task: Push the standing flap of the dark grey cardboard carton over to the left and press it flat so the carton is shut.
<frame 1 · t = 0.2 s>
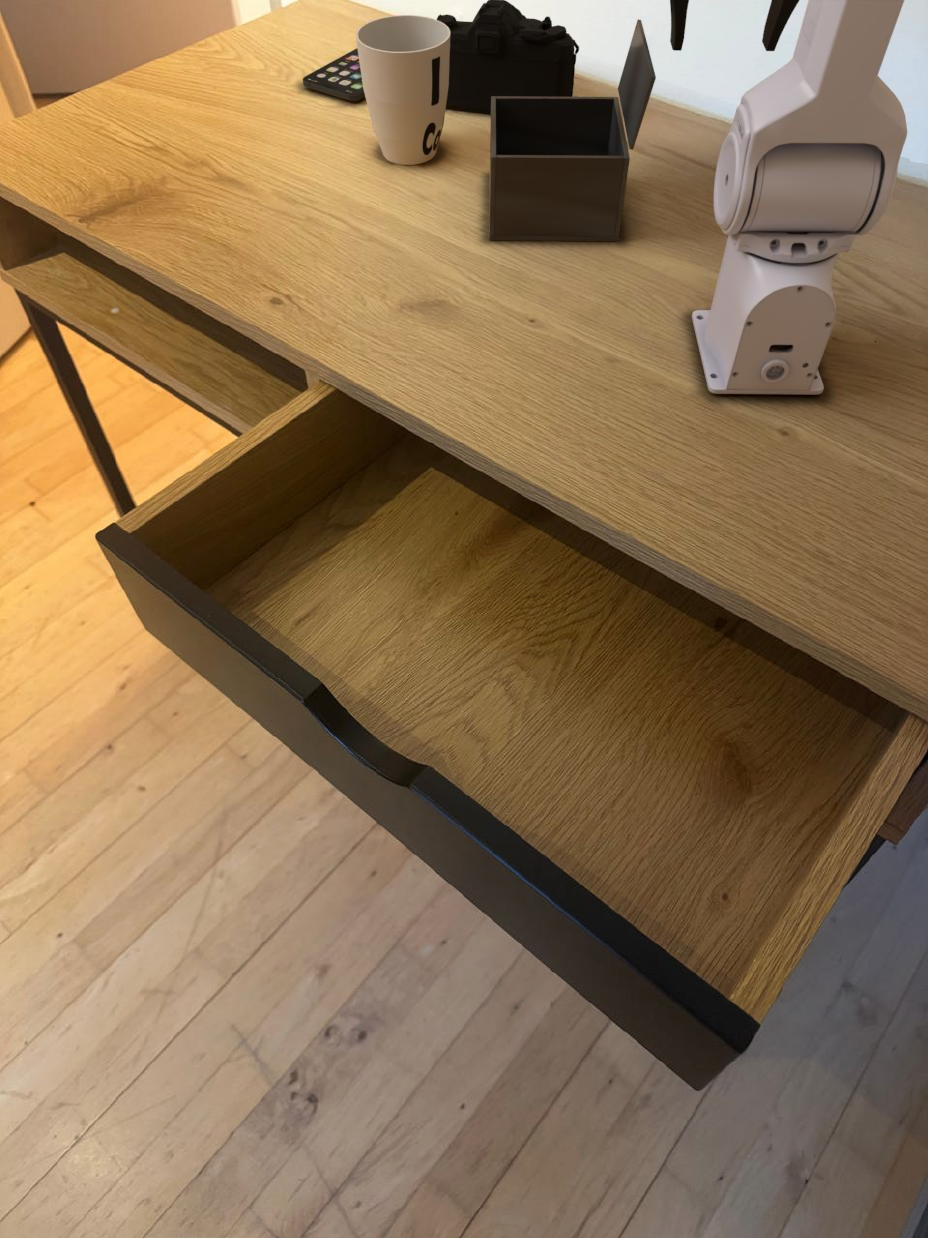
hand: (721, 45, 75), 10 cm above the table, tool pointing down, fingers open, 7 cm apart
flap: (635, 83, 71), point 10 cm above the table, hinge at 100.0°
carton: (551, 207, 79), on the table
film camera: (503, 98, 93), on the table
smartphone: (371, 71, 96), on the table
cup: (409, 153, 85), on the table
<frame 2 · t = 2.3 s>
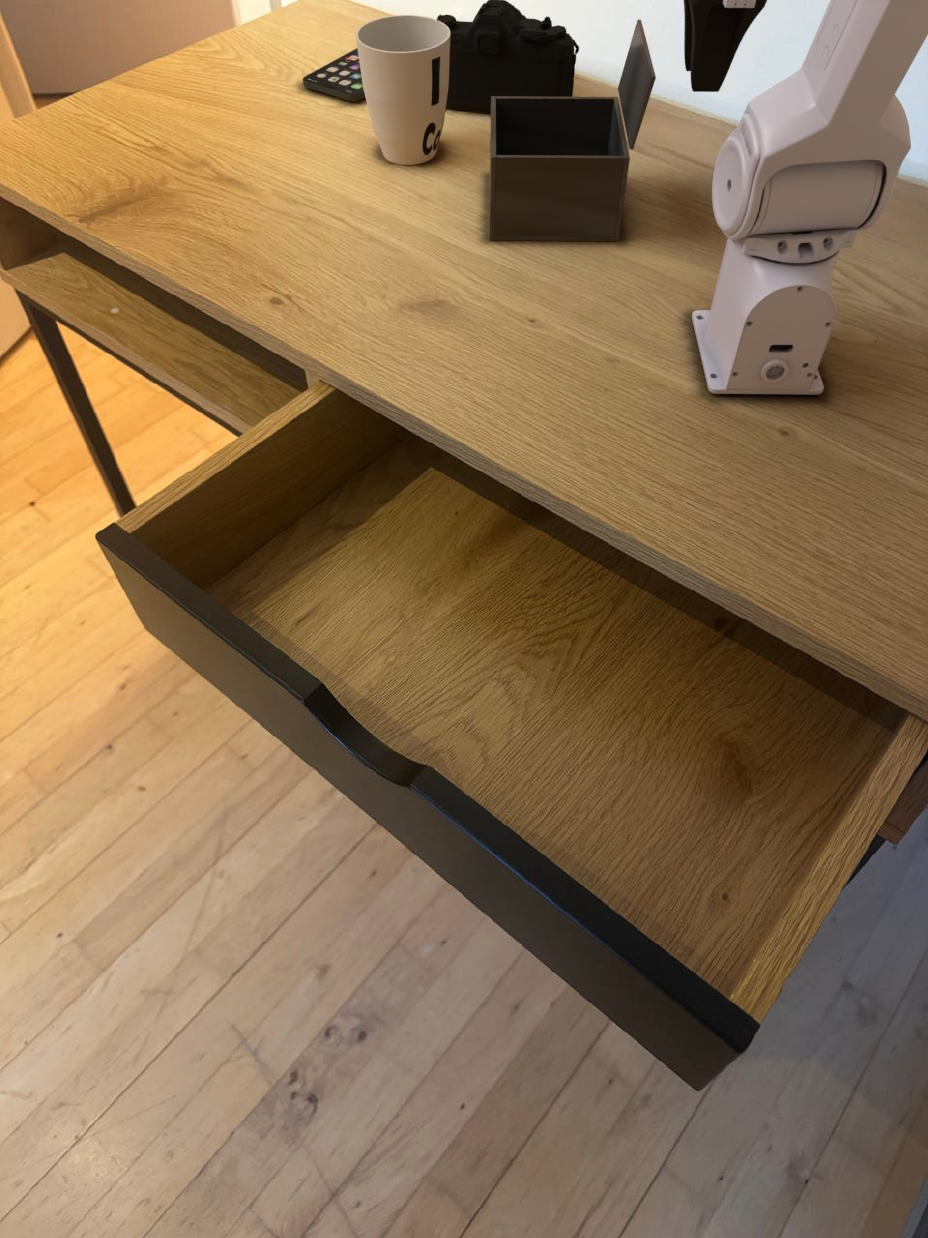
hand: (701, 79, 71), 10 cm above the table, tool pointing down, fingers open, 3 cm apart
nothing on the table moved.
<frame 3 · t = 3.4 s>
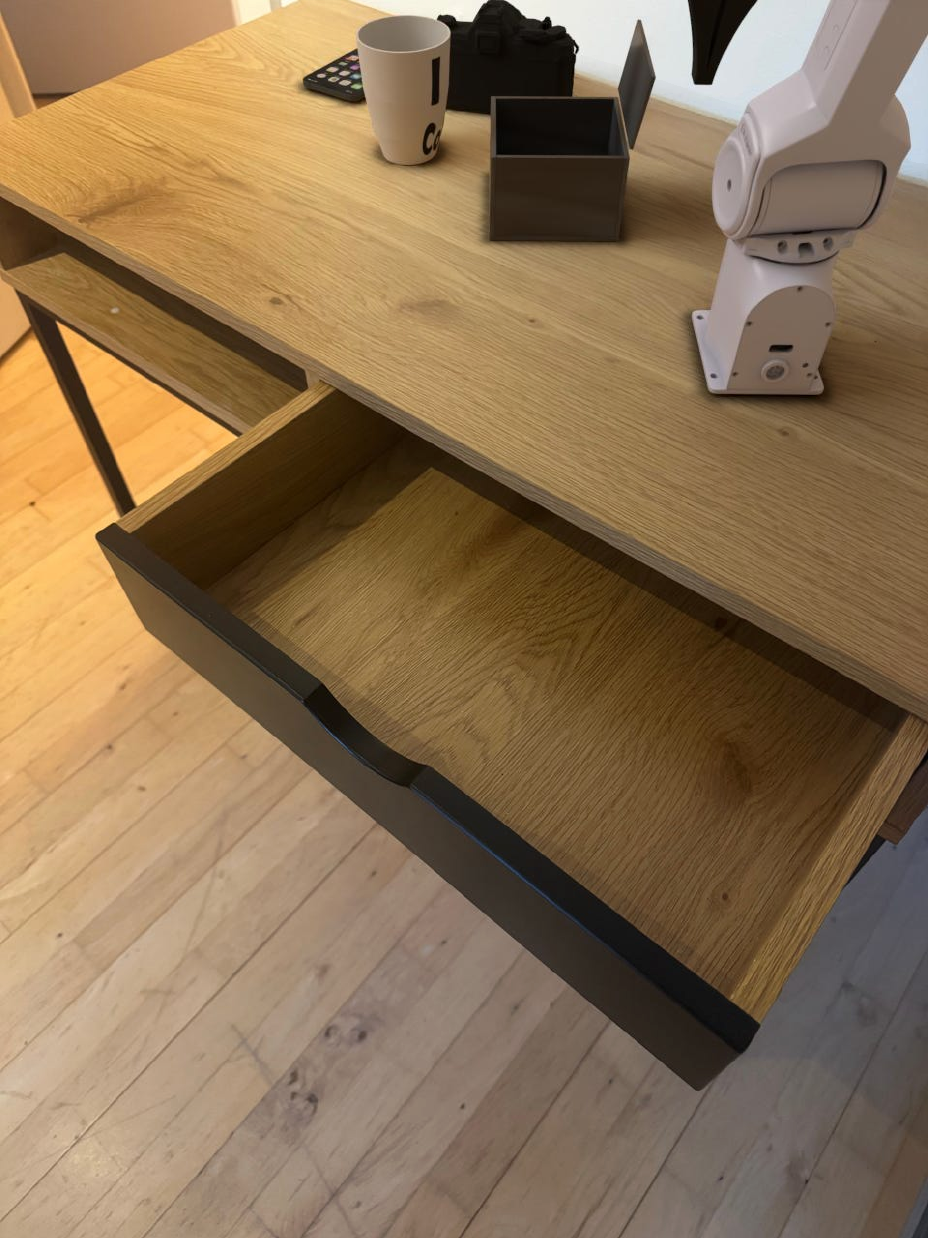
hand: (701, 79, 71), 10 cm above the table, tool pointing down, fingers closed
nothing on the table moved.
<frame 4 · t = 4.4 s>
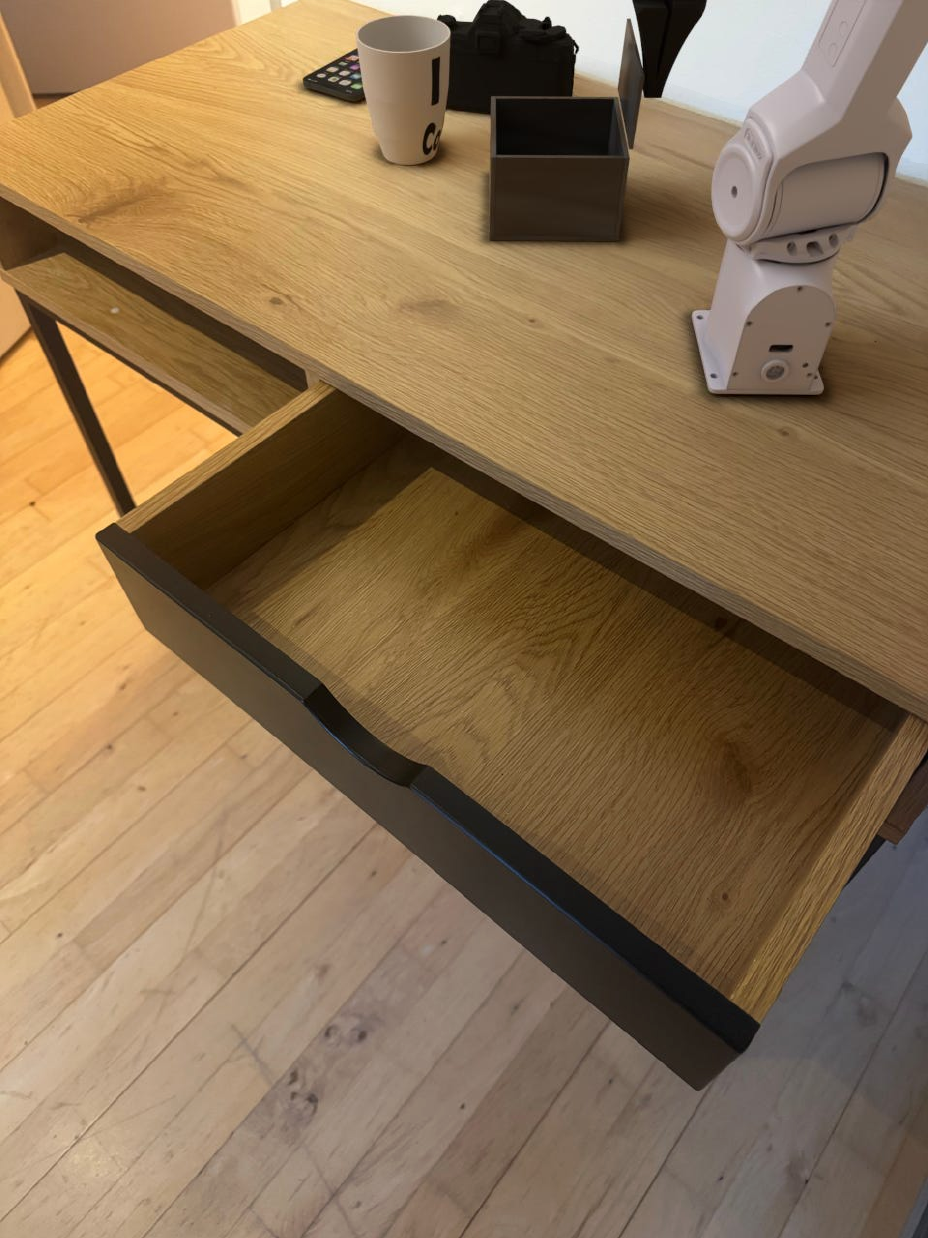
hand: (651, 92, 71), 9 cm above the table, tool pointing down, fingers closed
flap: (630, 82, 71), point 10 cm above the table, hinge at 90.7°, touching gripper
everything else where it was.
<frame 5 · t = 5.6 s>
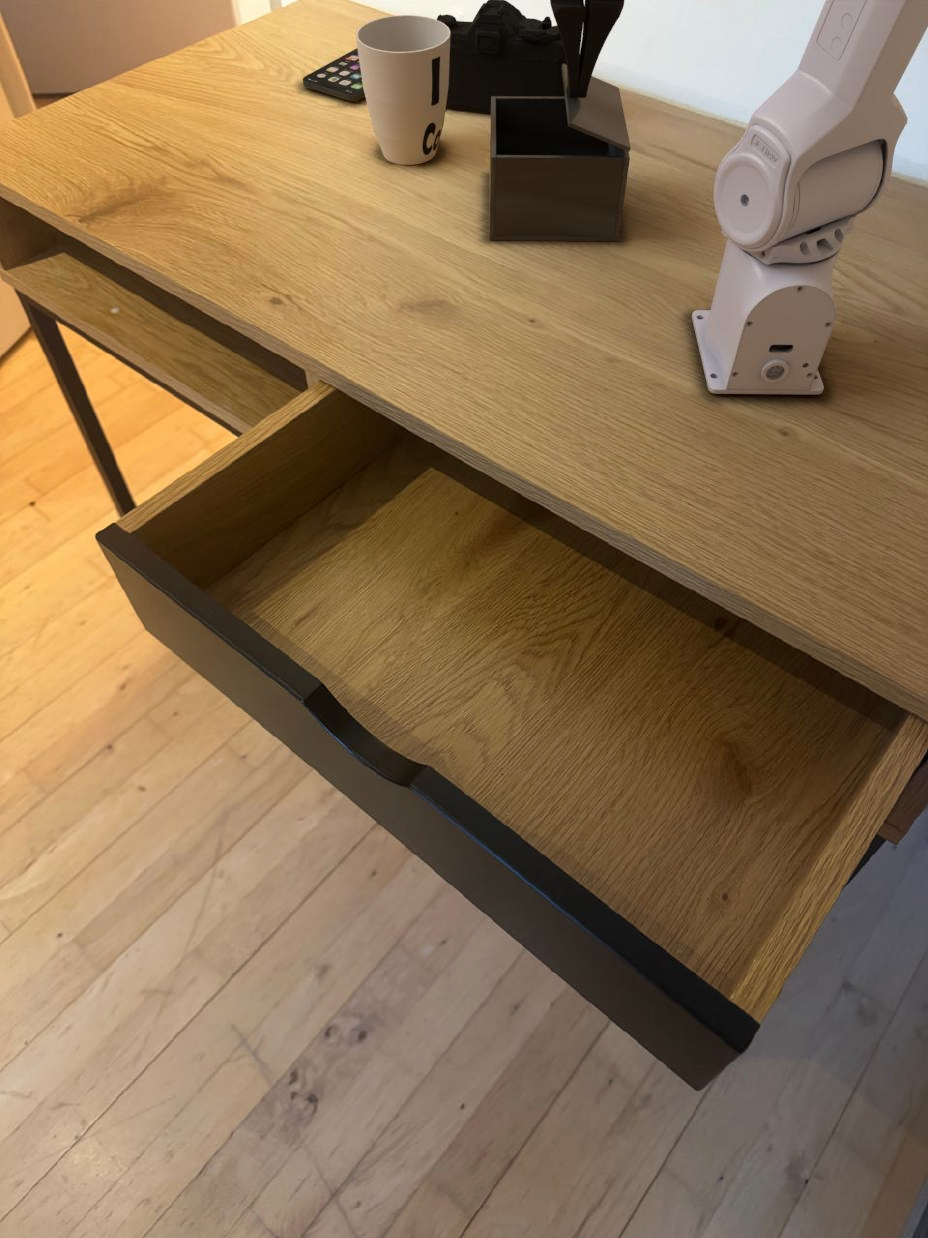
hand: (576, 92, 72), 9 cm above the table, tool pointing down, fingers closed
flap: (594, 105, 72), point 8 cm above the table, hinge at 20.9°
everything else where it was.
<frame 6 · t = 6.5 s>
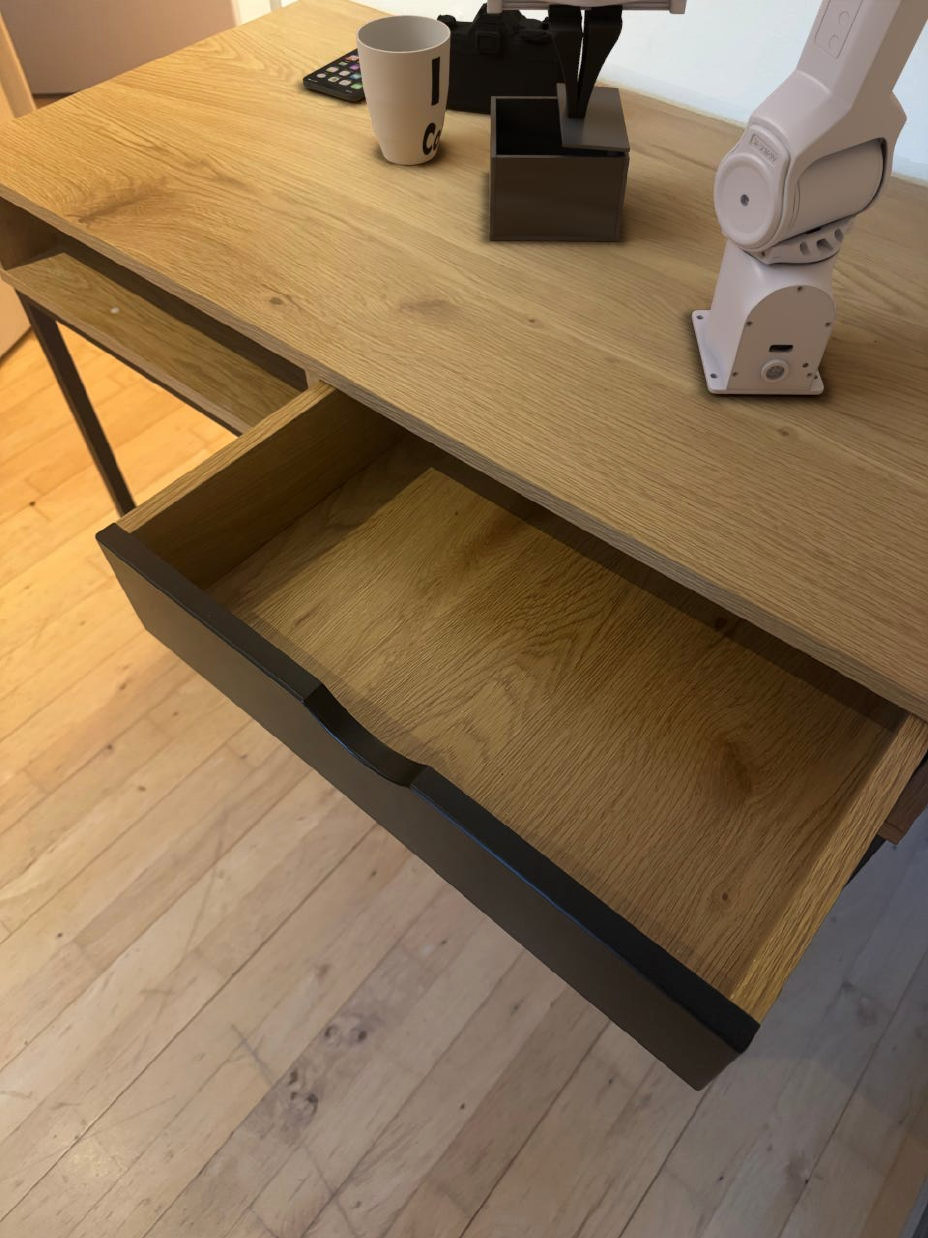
hand: (575, 112, 73), 8 cm above the table, tool pointing down, fingers closed, pressing on flap
flap: (591, 115, 73), point 8 cm above the table, hinge at 4.0°, touching gripper
everything else where it was.
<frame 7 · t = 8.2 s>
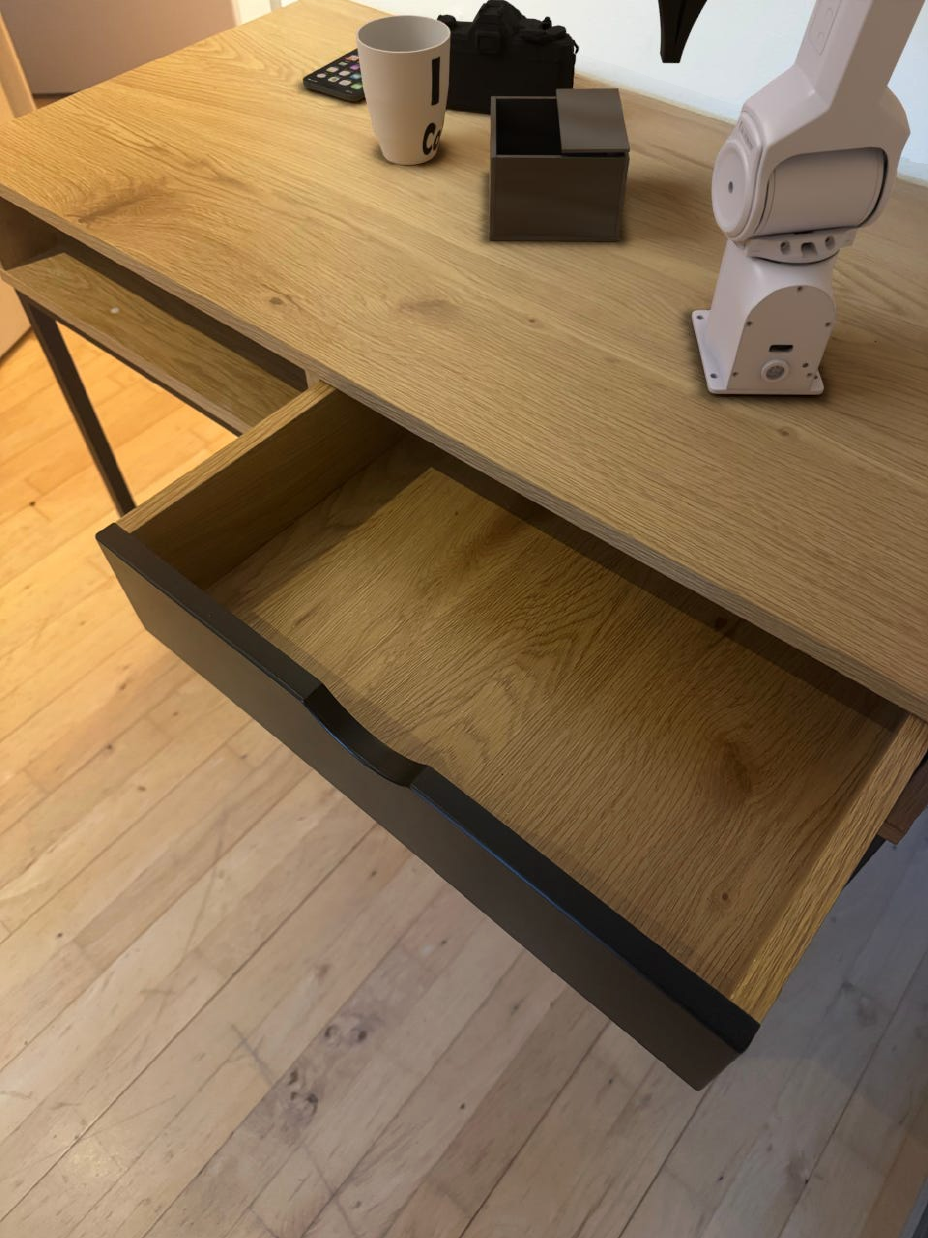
hand: (669, 58, 73), 10 cm above the table, tool pointing down, fingers closed
flap: (591, 118, 73), point 7 cm above the table, hinge at -0.8°
everything else where it was.
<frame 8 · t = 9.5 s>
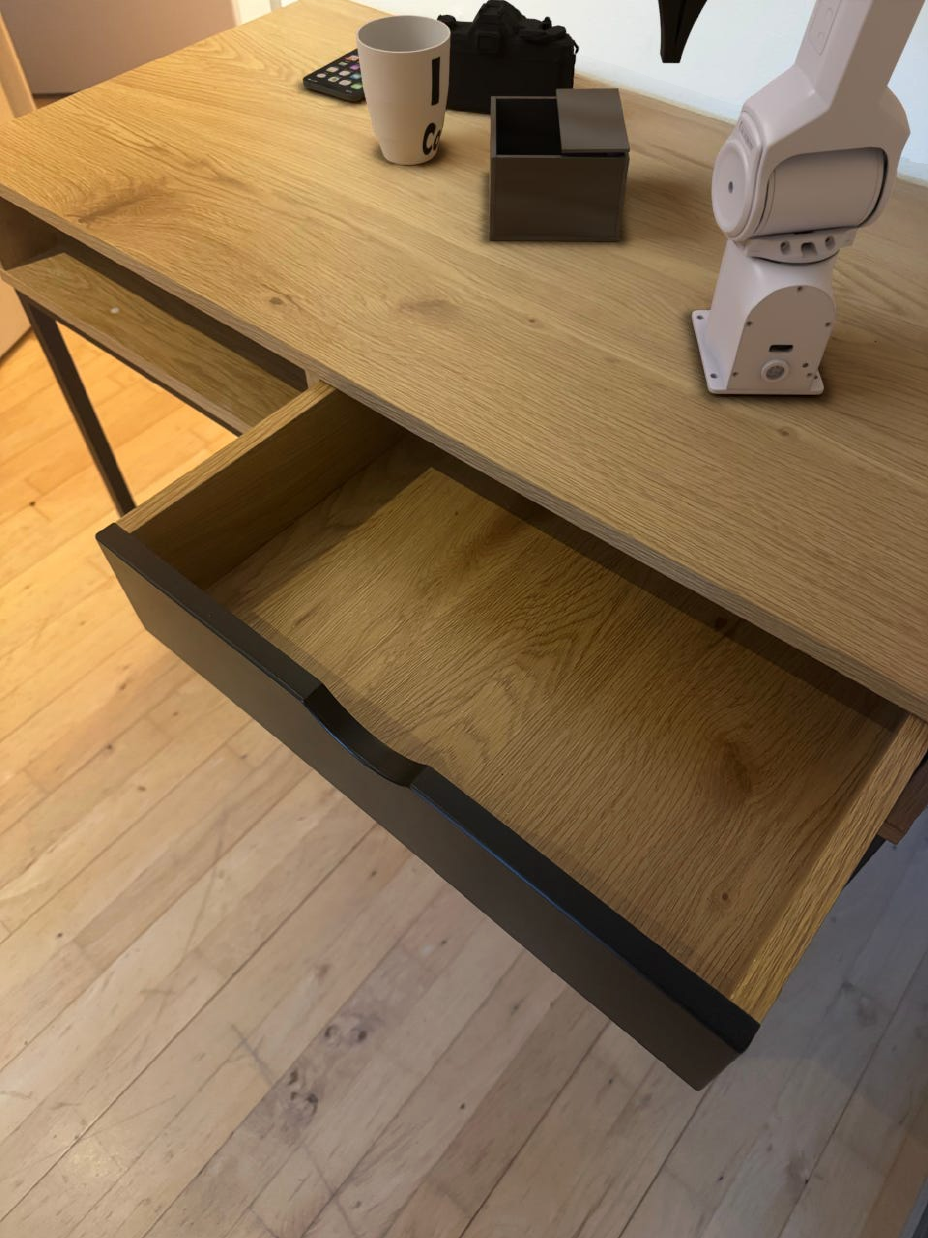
hand: (669, 58, 73), 10 cm above the table, tool pointing down, fingers closed
nothing on the table moved.
at the end: flap at -1° (first picture: +100°) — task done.
